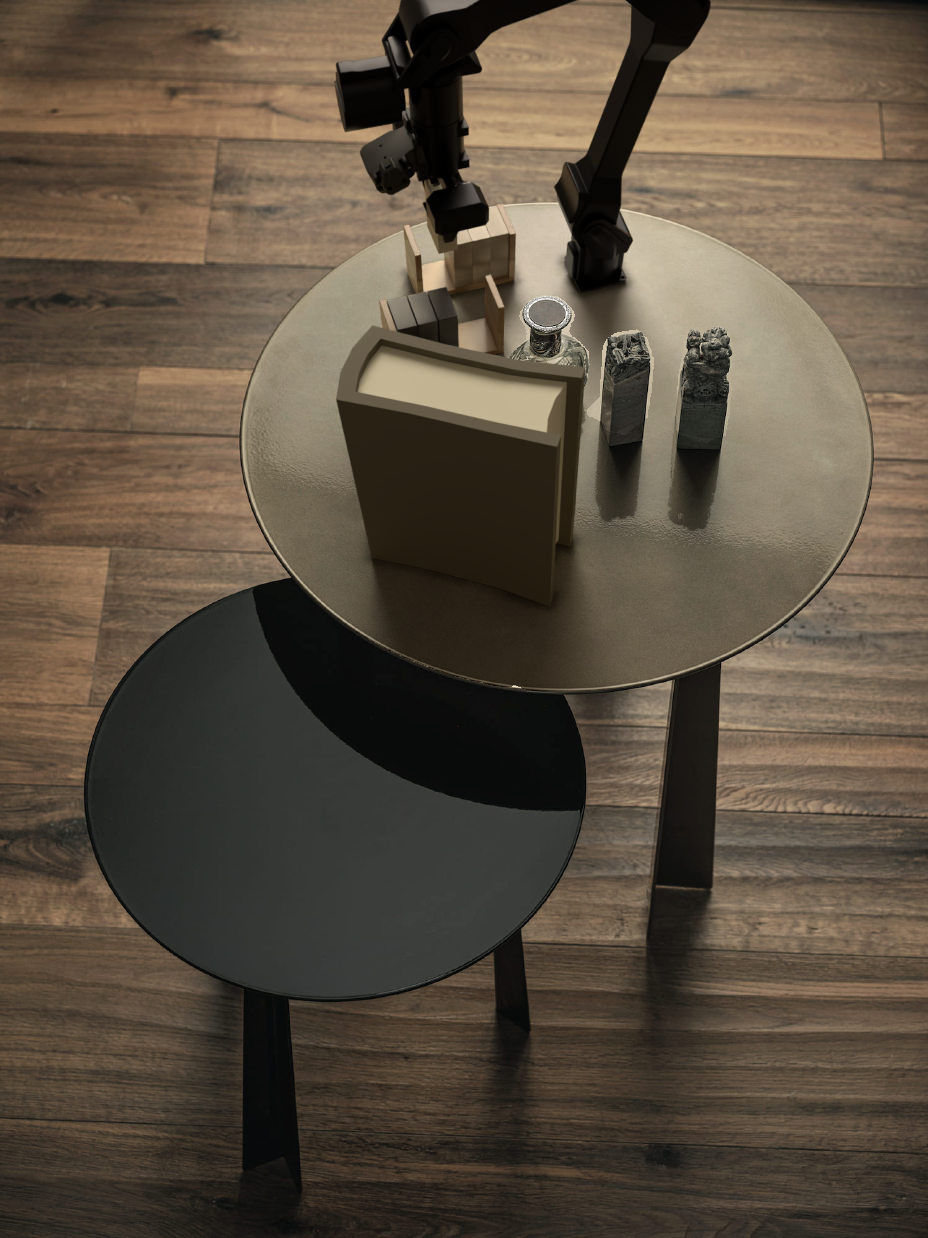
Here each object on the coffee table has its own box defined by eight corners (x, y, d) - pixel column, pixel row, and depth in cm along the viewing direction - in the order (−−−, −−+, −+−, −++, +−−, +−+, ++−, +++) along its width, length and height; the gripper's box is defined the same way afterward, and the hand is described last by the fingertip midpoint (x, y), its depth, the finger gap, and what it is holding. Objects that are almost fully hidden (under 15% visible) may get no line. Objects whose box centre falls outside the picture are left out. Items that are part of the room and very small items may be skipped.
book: (365, 558, 123) (326, 393, 99) (394, 493, 127) (363, 319, 103) (549, 606, 119) (556, 446, 94) (572, 537, 123) (585, 367, 99)
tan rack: (490, 320, 139) (491, 274, 132) (504, 352, 136) (504, 306, 130) (384, 345, 137) (378, 299, 130) (395, 378, 135) (390, 333, 128)
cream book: (445, 221, 133) (443, 173, 127) (457, 249, 131) (456, 202, 125) (427, 226, 133) (424, 178, 127) (438, 254, 130) (436, 207, 124)
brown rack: (501, 251, 145) (502, 203, 138) (514, 280, 142) (516, 233, 135) (407, 272, 143) (403, 225, 136) (418, 302, 141) (414, 256, 134)
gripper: (342, 72, 120) (357, 190, 134) (386, 184, 111) (397, 297, 125) (439, 52, 121) (444, 170, 135) (490, 160, 113) (490, 274, 126)
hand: (442, 226), depth 130 cm, fingers closed on cream book, 5 cm apart
